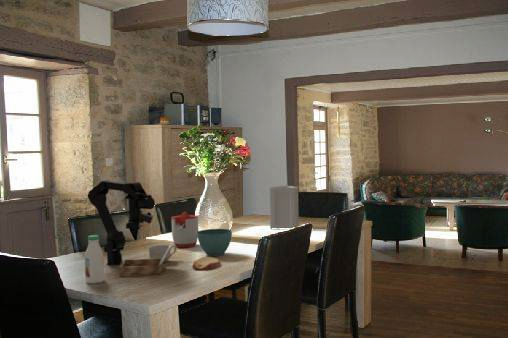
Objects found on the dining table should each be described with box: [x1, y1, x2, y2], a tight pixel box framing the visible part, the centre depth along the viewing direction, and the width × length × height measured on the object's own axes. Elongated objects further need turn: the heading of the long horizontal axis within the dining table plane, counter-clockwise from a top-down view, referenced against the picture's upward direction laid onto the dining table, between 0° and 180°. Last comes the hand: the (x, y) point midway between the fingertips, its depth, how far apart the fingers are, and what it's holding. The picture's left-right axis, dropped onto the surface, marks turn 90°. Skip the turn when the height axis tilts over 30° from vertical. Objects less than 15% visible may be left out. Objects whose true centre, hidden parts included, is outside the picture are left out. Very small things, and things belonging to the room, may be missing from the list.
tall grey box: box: [268, 185, 300, 230], centre depth 366 cm, size 19×15×28 cm
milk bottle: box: [84, 234, 105, 284], centre depth 233 cm, size 8×8×20 cm
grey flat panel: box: [160, 241, 174, 265], centre depth 251 cm, size 9×15×1 cm
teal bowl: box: [197, 228, 233, 257], centre depth 284 cm, size 18×18×12 cm
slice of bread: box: [191, 256, 221, 272], centre depth 260 cm, size 18×18×4 cm
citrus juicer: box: [170, 211, 199, 249], centre depth 308 cm, size 16×17×20 cm
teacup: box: [148, 244, 177, 263], centre depth 270 cm, size 14×11×8 cm
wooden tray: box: [118, 258, 164, 277], centre depth 251 cm, size 18×16×4 cm
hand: (135, 240), depth 261 cm, fingers closed
